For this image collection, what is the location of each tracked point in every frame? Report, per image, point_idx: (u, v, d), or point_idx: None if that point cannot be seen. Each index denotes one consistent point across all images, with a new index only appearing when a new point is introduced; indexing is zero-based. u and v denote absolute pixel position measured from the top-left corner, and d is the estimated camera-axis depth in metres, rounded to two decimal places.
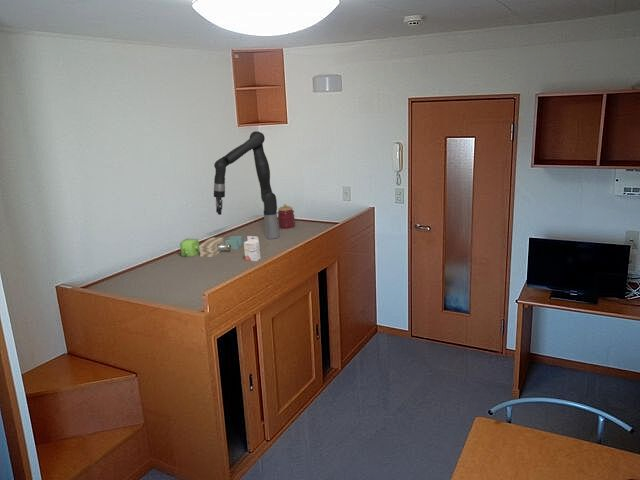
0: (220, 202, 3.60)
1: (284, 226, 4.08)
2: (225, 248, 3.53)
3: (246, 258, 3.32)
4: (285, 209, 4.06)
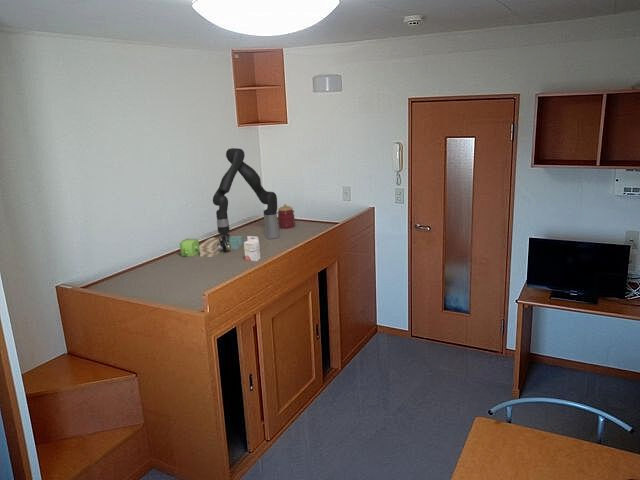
0: (221, 241, 3.47)
1: (284, 226, 4.08)
2: None
3: (246, 258, 3.32)
4: (285, 209, 4.06)
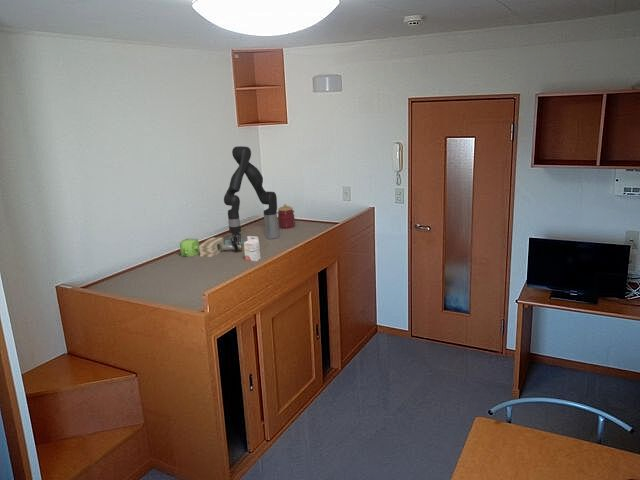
0: (232, 241, 3.46)
1: (284, 226, 4.08)
2: None
3: (246, 258, 3.32)
4: (285, 209, 4.06)
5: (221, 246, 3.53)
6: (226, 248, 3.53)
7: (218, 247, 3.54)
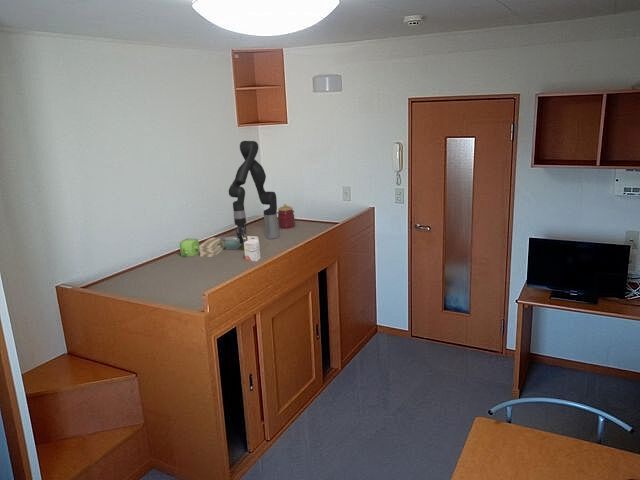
0: (238, 233, 3.44)
1: (284, 226, 4.08)
2: None
3: (246, 258, 3.32)
4: (285, 209, 4.06)
5: (226, 238, 3.51)
6: (231, 240, 3.51)
7: (223, 239, 3.52)
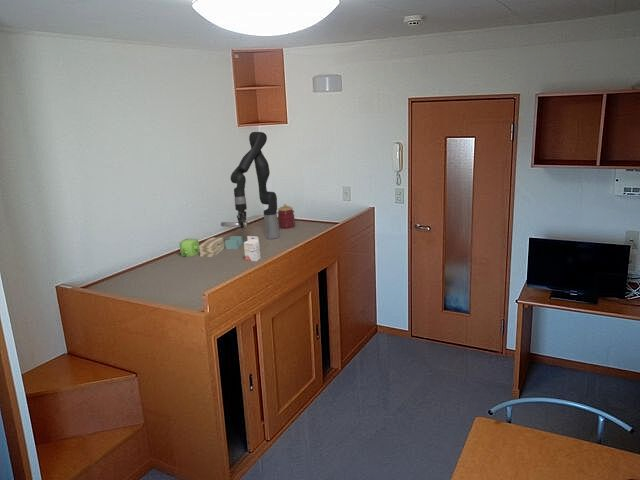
0: (238, 218, 3.56)
1: (284, 226, 4.08)
2: None
3: (246, 258, 3.32)
4: (285, 209, 4.06)
5: (227, 223, 3.63)
6: (232, 225, 3.63)
7: (224, 224, 3.63)
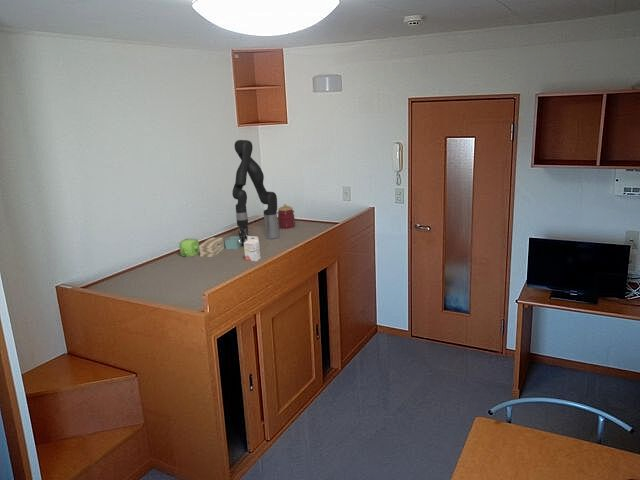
0: (240, 233, 3.58)
1: (284, 226, 4.08)
2: None
3: (246, 258, 3.32)
4: (285, 209, 4.06)
5: None
6: None
7: None
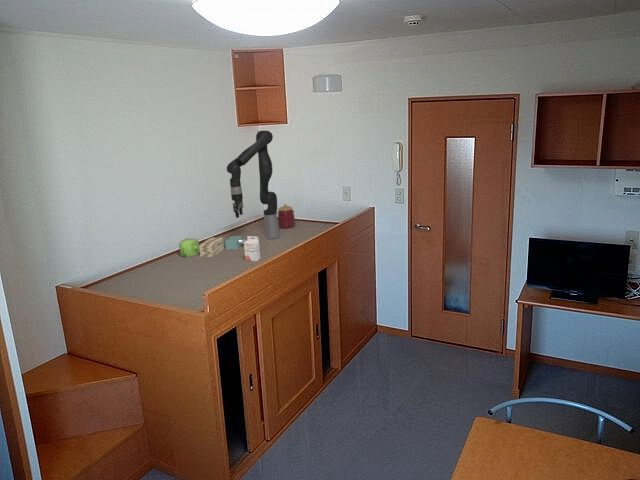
0: (234, 205, 3.59)
1: (284, 226, 4.08)
2: None
3: (246, 258, 3.32)
4: (285, 209, 4.06)
5: None
6: None
7: None
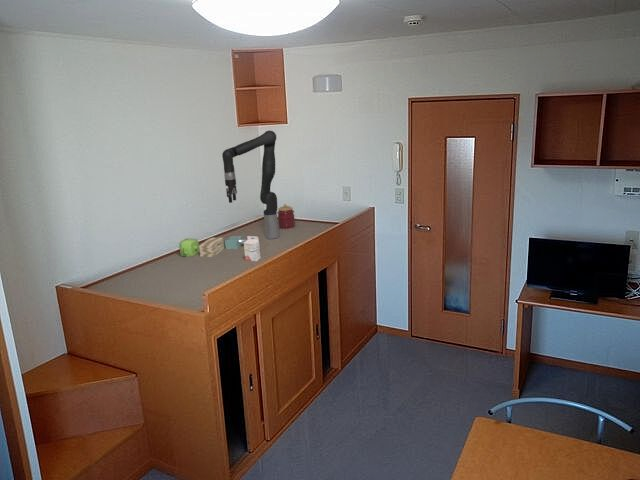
0: (228, 190, 3.69)
1: (284, 226, 4.08)
2: None
3: (246, 258, 3.32)
4: (285, 209, 4.06)
5: None
6: None
7: None
